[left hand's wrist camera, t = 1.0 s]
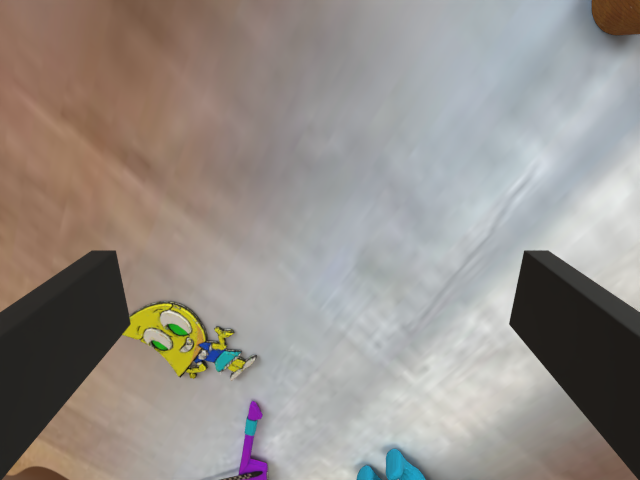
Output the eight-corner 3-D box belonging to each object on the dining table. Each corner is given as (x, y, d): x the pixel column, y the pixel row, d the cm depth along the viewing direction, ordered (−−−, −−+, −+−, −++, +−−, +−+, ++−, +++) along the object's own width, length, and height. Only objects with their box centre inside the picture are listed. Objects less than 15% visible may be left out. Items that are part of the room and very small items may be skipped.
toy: (208, 404, 49) (109, 334, 45) (210, 399, 50) (112, 330, 46) (261, 356, 46) (160, 279, 43) (261, 352, 47) (163, 276, 43)
